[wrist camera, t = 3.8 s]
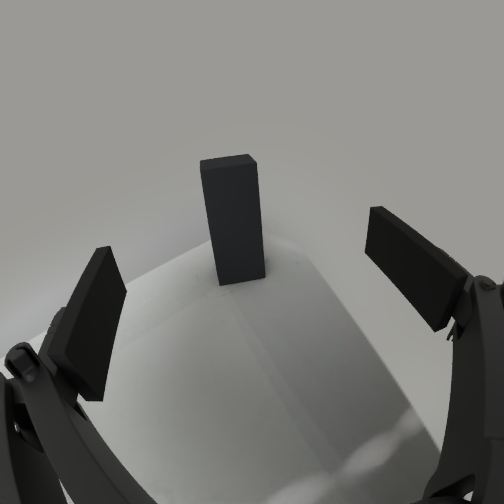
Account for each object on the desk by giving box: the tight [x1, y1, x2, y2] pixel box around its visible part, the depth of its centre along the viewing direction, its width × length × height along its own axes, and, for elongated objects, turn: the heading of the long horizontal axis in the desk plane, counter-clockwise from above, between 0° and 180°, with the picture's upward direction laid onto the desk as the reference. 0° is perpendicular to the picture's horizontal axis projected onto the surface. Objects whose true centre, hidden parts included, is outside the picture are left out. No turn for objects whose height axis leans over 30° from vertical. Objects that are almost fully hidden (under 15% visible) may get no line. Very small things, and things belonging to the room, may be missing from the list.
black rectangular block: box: [200, 154, 265, 285], centre depth 23 cm, size 4×4×10 cm
